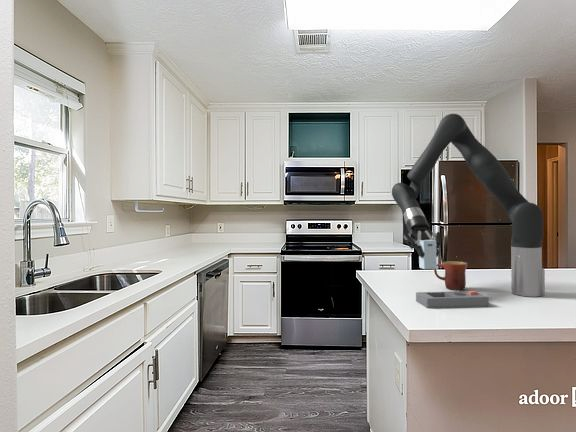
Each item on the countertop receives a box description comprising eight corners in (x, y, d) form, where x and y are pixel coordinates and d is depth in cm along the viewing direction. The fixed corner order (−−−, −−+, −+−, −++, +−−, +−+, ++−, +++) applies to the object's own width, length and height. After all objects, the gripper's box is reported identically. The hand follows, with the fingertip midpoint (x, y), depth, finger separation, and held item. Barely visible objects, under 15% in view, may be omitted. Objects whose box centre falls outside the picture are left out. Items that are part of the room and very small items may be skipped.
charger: (431, 266, 132) (430, 239, 132) (437, 268, 127) (436, 240, 127) (419, 267, 132) (418, 240, 132) (424, 269, 127) (423, 241, 127)
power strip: (473, 299, 124) (472, 288, 124) (488, 306, 115) (488, 294, 115) (416, 301, 123) (415, 289, 123) (427, 308, 114) (427, 296, 114)
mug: (466, 287, 143) (466, 261, 143) (468, 292, 135) (468, 264, 135) (434, 285, 147) (433, 260, 147) (434, 290, 139) (434, 263, 139)
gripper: (399, 215, 136) (413, 249, 124) (436, 214, 137) (453, 248, 125) (395, 228, 142) (407, 263, 130) (431, 227, 142) (446, 261, 130)
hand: (429, 255), depth 127 cm, fingers closed on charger, 4 cm apart
